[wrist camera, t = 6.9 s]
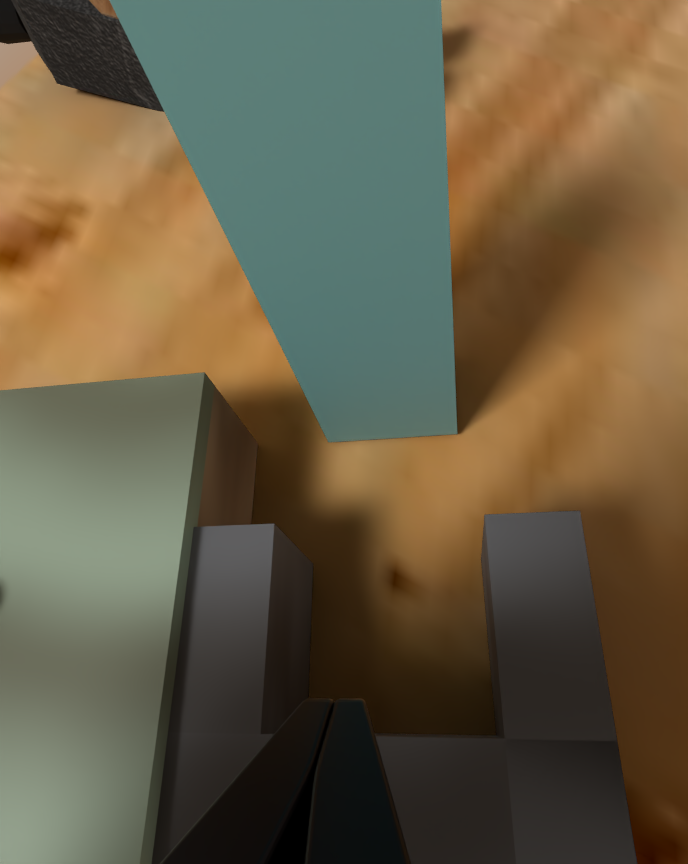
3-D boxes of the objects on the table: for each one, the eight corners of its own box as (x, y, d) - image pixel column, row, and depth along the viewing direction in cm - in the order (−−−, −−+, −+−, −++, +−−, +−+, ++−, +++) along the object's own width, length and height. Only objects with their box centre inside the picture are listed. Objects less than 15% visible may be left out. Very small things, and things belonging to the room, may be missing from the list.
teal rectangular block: (457, 433, 18) (422, -492, 4) (328, 442, 19) (-57, -337, 5) (450, 350, 20) (408, -569, 6) (330, 361, 20) (28, -436, 6)
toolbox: (607, 924, 13) (690, 1042, 8) (-367, 857, 18) (-686, 908, 13) (537, 425, 18) (562, 316, 13) (-201, 473, 23) (-382, 405, 18)
